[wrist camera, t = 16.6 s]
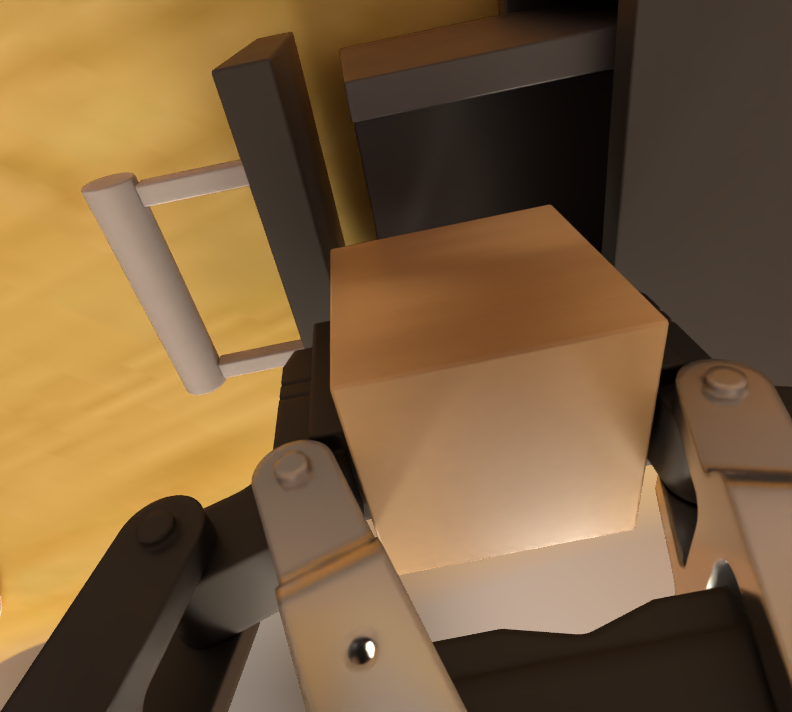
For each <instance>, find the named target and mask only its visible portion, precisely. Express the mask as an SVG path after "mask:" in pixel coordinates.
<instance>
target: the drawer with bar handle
mask: <svg viewBox="0 0 792 712" xmlns="http://www.w3.org/2000/svg"><path fill="white" fill-rule="evenodd" d="M618 3H619V0H569V1H564V2H559V3H555V4H550V5H545V6H540V7H536V8H531V9H526V10H521V11H517V12H512V13H507V14H502V15H498V16H493V17H488V18H483V19H479V20H474V21H469V22H464V23H460V24H455V25H450V26H445V27H441V28H436V29H431V30H426V31H422V32H417V33H412V34H407V35H403V36H398V37H393V38H388V39H384V40H379V41H374V42H369V43H365V44H360V45H355V46H350V47H345V48H341V49H339V55H340V61H341V68H342V74H343V80H344V86H345V91H346V96H347V101H348V106H349V111H350V115H351V120H352V122H353V123H354V128H355V133H356V138H357V143H358V147H359V152H360V157H361V162H362V167H363V172H364V177H365V182H366V186H367V191H368V196H369V201H370V206H371V211H372V216H373V221H374V226H375V230H376V235H377V240H379V239H384V238H389V237H394V236H399V235H404V234H409V233H413V232H418V231H423V230H428V229H433V228H438V227H443V226H448V225H452V224H457V223H462V222H467V221H472V220H477V219H482V218H487V217H491V216H496V215H501V214H506V213H511V212H516V211H521V210H526V209H530V208H535V207H540V206H545V205H552V206H553V207H554V208H555V209H556V210H557V211H558V212H559V213H560V214H561V215H562V216H563V217H564V218H565V219H566V220H567V221H568V222H569V223H570V224H571V225H572V226H573V227H574V228H575V229H576V230H577V231H578V232H579V233H580V234H581V235H582V236H583V237H584V238H585V239H586V240H587V241H588V242H589V243H590V244H591V245H592V246H593V247H594V248H595V249H596V250H597V251H598V252H599V253H600V254H601V255H602V241H603V226H604V211H605V196H606V181H607V166H608V151H609V137H610V122H611V107H612V92H613V77H614V62H615V47H616V32H617V18H618ZM212 76H213V79H214V82H215V85H216V88H217V91H218V94H219V97H220V99H221V102H222V105H223V108H224V111H225V114H226V117H227V120H228V123H229V126H230V129H231V132H232V135H233V138H234V141H235V144H236V147H237V150H238V153H239V156H240V160H235V161H231V162H226V163H221V164H216V165H211V166H207V167H202V168H197V169H192V170H187V171H182V172H178V173H173V174H168V175H163V176H158V177H154V178H149V179H144V180H141V181H140V182H138V180H137V178H136V176H135V175H134V174H133V173H118V174H113V175H109V176H106V177H102V178H99V179H97V180H94V181H92V182H90V183H88V184H86V185H85V186H83V187H82V188H81V192H82V194H83V196H84V198H85V199H86V201H87V203H88V205H89V207H90V209H91V211H92V213H93V214H94V216H95V218H96V220H97V222H98V224H99V226H100V228H101V230H102V231H103V233H104V235H105V237H106V239H107V241H108V243H109V245H110V246H111V248H112V250H113V252H114V254H115V256H116V258H117V260H118V262H119V263H120V265H121V267H122V269H123V271H124V273H125V275H126V277H127V278H128V280H129V282H130V284H131V286H132V288H133V290H134V292H135V294H136V295H137V297H138V299H139V301H140V303H141V305H142V307H143V309H144V310H145V312H146V314H147V316H148V318H149V320H150V322H151V324H152V326H153V327H154V329H155V331H156V333H157V335H158V337H159V339H160V341H161V342H162V344H163V346H164V348H165V350H166V352H167V354H168V356H169V358H170V359H171V361H172V363H173V365H174V367H175V369H176V371H177V373H178V374H179V376H180V378H181V380H182V382H183V384H184V386H185V388H186V390H187V391H188V392H189V393H190V394H193V395H203V394H207V393H210V392H212V391H214V390H216V389H218V388H219V387H220V386H221V385H222V384H223V383H224V382H225V380H226V378H228V377H233V376H238V375H243V374H248V373H253V372H258V371H263V370H268V369H273V368H278V367H283V366H284V365H285V364H286V362H287V361H288V360H289V358H290V357H291V355H292V354H293V352H294V351H296V350H301V349H306V348H311V347H312V343H313V325H314V324H316V323H320V322H325V321H330V252H331V250H332V249H335V248H340V247H345V242H344V238H343V234H342V230H341V226H340V222H339V218H338V214H337V210H336V206H335V202H334V198H333V194H332V189H331V185H330V181H329V177H328V173H327V169H326V165H325V161H324V157H323V153H322V149H321V145H320V141H319V136H318V132H317V128H316V124H315V120H314V116H313V112H312V108H311V104H310V100H309V96H308V92H307V87H306V83H305V79H304V75H303V71H302V67H301V63H300V59H299V55H298V51H297V47H296V43H295V39H294V34H293V33H292V32H287V33H282V34H277V35H273V36H268V37H263V38H258V39H256V40H255V41H254V42H252V43H251V44H249V45H248V46H247V47H245V48H244V49H242V50H241V51H239V52H238V53H237V54H235V55H234V56H232V57H231V58H229V59H228V60H227V61H225V62H224V63H222V64H221V65H220V66H218V67H217V68H215V69H214V70H213V71H212ZM245 186H250V188H251V191H252V194H253V197H254V200H255V203H256V206H257V209H258V212H259V215H260V218H261V221H262V224H263V227H264V230H265V233H266V236H267V239H268V242H269V245H270V248H271V251H272V254H273V257H274V260H275V263H276V266H277V269H278V272H279V275H280V277H281V280H282V283H283V286H284V289H285V292H286V295H287V298H288V301H289V304H290V307H291V310H292V313H293V316H294V319H295V322H296V325H297V328H298V331H299V334H300V337H301V339H300V340H295V341H290V342H285V343H281V344H276V345H271V346H266V347H261V348H256V349H251V350H246V351H241V352H236V353H231V354H226V355H222V356H221V357H220V358H219V356H218V354H217V351H216V349H215V347H214V345H213V343H212V341H211V338H210V336H209V334H208V332H207V330H206V328H205V325H204V323H203V321H202V319H201V317H200V315H199V312H198V310H197V308H196V306H195V304H194V301H193V299H192V297H191V295H190V293H189V291H188V288H187V286H186V284H185V282H184V280H183V278H182V275H181V273H180V271H179V269H178V267H177V265H176V262H175V260H174V258H173V256H172V254H171V252H170V249H169V247H168V245H167V243H166V241H165V239H164V236H163V234H162V232H161V230H160V228H159V226H158V223H157V221H156V219H155V217H154V215H153V213H152V210H151V208H150V206H154V205H158V204H163V203H168V202H173V201H178V200H182V199H187V198H192V197H197V196H202V195H207V194H211V193H216V192H221V191H226V190H231V189H236V188H240V187H245Z"/></svg>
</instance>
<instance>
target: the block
mask: <svg viewBox="0 0 792 712" xmlns="http://www.w3.org/2000/svg"><path fill="white" fill-rule="evenodd" d="M668 325H669V324H668V320H667V319H666V318H665V317H664V316H663V315H662V314H661V313H660V312H659V311H658V310H657V309H656V308H655V307H654V306H653V305H652V304H651V303H650V302H649V301H648V300H647V299H646V298H645V297H644V296H643V295H642V294H641V293H640V292H639V291H638V290H637V289H636V288H635V287H634V286H633V285H632V284H631V283H630V282H629V281H628V280H627V279H626V278H625V277H624V276H623V275H622V274H621V273H620V272H619V271H618V270H617V269H616V268H615V267H614V266H613V265H612V264H611V263H609V262H608V261H607V260H606V259H605V258H604V257H603V256H602V255H601V254H600V253H599V252H598V251H597V250H596V249H595V248H594V247H593V246H592V245H591V244H590V243H589V242H588V241H587V240H586V239H585V238H584V237H583V236H582V235H581V234H580V233H579V232H578V231H577V230H576V229H575V228H574V227H573V226H572V225H571V224H570V223H569V222H568V221H567V220H566V219H565V218H564V217H563V216H562V215H561V214H560V213H559V212H558V211H557V210H556V209H555V208H554V207H553V206H552V205H545V206H540V207H535V208H530V209H526V210H521V211H516V212H511V213H506V214H501V215H496V216H491V217H487V218H482V219H477V220H472V221H467V222H462V223H457V224H452V225H448V226H443V227H438V228H433V229H428V230H423V231H418V232H413V233H409V234H404V235H399V236H394V237H389V238H384V239H379V240H374V241H370V242H365V243H360V244H355V245H350V246H345V247H340V248H335V249H332V250H331V252H330V392H331V395H332V398H333V401H334V404H335V407H336V410H337V413H338V416H339V420H340V423H341V426H342V429H343V432H344V435H345V438H346V441H347V444H348V447H349V451H350V454H351V457H352V460H353V463H354V466H355V469H356V472H357V475H358V478H359V482H360V485H361V488H362V491H363V494H364V497H365V500H366V503H367V506H368V509H369V513H370V516H371V519H372V522H373V525H374V528H375V531H376V534H377V537H378V538H379V540H380V541H381V543H382V545H383V546H384V548H385V550H386V552H387V554H388V556H389V558H390V560H391V562H392V564H393V566H394V568H395V570H396V572H397V574H398V575H402V574H407V573H412V572H417V571H423V570H428V569H433V568H438V567H443V566H448V565H453V564H459V563H464V562H469V561H474V560H479V559H485V558H490V557H495V556H500V555H505V554H510V553H515V552H520V551H526V550H531V549H536V548H542V547H546V546H552V545H557V544H562V543H567V542H572V541H578V540H583V539H588V538H593V537H598V536H604V535H609V534H614V533H619V532H624V531H630V530H634V529H635V528H636V522H637V515H638V509H639V504H640V497H641V491H642V485H643V479H644V472H645V467H646V461H647V454H648V448H649V442H650V436H651V430H652V424H653V417H654V411H655V405H656V399H657V393H658V387H659V381H660V374H661V368H662V362H663V356H664V350H665V344H666V337H667V331H668Z"/></svg>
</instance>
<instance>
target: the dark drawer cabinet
mask: <svg viewBox="0 0 792 712" xmlns="http://www.w3.org/2000/svg"><path fill="white" fill-rule="evenodd" d="M564 1H569V0H499V15H502V14H507V13H512V12H517V11H521V10H526V9H531V8H536V7H540V6H545V5H550V4H555V3H559V2H564ZM602 256H603V257H604V258H605V259H606V260H607V261H608V262H609V263H611V264H612V265H613V266H614V267H615V268H616V269H617V270H618V271H619V272H620V273H621V274H622V275H623V276H624V277H625V278H626V279H627V280H628V281H629V282H630V283H631V284H632V285H633V286H634V287H635V288H636V289H637V290H638V291H640V292H642V293H644V294H646V295H647V296H648V297H649V298H650V299H652V300H653V301H654V302H655V303H656V304H657V305H658V306H659V307H660V311H664V312H665V313H666V314H667V315H668V316H669V317H670V318H671V319H672V322H675V323H676V324H677V325H678V326H679V327H680V328H681V329H682V330H683V331H684V332H685V333H686V334H687V335H689V336H690V337H691V338H692V339H693V340H694V341H695V342H696V343H697V344H698V345H699V346H700V347H701V348H702V349H703V350H704V351H705V352H706V353H707V354H708V355H709V356H710V357H711V358H712V359H724V360H731V361H735V362H739V363H742V364H745V365H748V366H750V367H752V368H754V369H756V370H758V371H760V372H761V373H763V374H764V375H765V376H766V377H767V378H768V379H769V380H770V381H771V382H772V383H773V385H774V386H788V387H792V0H619V3H618V18H617V32H616V47H615V62H614V77H613V92H612V107H611V122H610V137H609V151H608V166H607V181H606V196H605V211H604V226H603V241H602Z"/></svg>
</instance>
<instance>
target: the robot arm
mask: <svg viewBox="0 0 792 712" xmlns="http://www.w3.org/2000/svg"><path fill="white" fill-rule="evenodd" d="M639 292H640V291H639ZM640 293H641V294H642V295H643V296H644V297H645V298H646V299H647V300H648V301H649V302H650V303H651V304H652V305H653V306H654V307H655V308H656V309H657V310H658V311H659V312H660V313H661V314H662V315H663V316H664V317H665V318H666V319H667V320H668V324H669V325H668V331H667V337H666V344H665V350H664V356H663V362H662V368H661V374H660V381H659V387H658V393H657V399H656V405H655V411H654V417H653V424H652V430H651V436H650V442H649V448H648V454H647V461H646V465H652V466H653V467H654V469H655V470H656V472H657V473H658V477H657V482H656V488H655V489H656V496H657V500H658V505H659V510H660V514H661V519H662V524H663V529H664V534H665V538H666V543H667V548H668V553H669V557H670V562H671V567H672V572H673V576H674V583H675V596H670V597H664V598H660V599H654V600H652V601H650V602H648V603H646V604H644V605H642V606H640V607H638V608H636V609H635V610H632V611H631V612H629V613H627V614H625V615H623V616H622V617H619V618H617V619H615V620H613V621H611V622H610V623H608V624H606V625H604V626H602V627H600V628H598V629H596V630H594V631H592V632H590V633H587V634H563V633H549V632H537V631H523V630H510V629H509V630H508V629H498V630H493V631H488V632H483V633H477V634H472V635H467V636H462V637H457V638H451V639H446V640H441V641H436V642H432V641H431V639H430V637H429V635H428V633H427V631H426V629H425V627H424V625H423V623H422V621H421V619H420V617H419V615H418V614H417V611H416V610H415V607H414V605H413V603H412V601H411V600H410V598H409V595H408V594H407V591H406V589H405V588H404V586H403V584H402V582H401V580H400V578H399V576H398V574H397V572H396V570H395V568H394V566H393V564H392V562H391V560H390V558H389V556H388V554H387V552H386V550H385V548H384V546H383V545H382V543H381V541H380V540H379V538H378V537H376V538H375V537H374V535H373V533H372V531H371V529H370V527H369V525H368V523H367V521H366V520H368V519H371V516H370V513H369V509H368V506H367V503H366V500H365V497H364V494H363V491H362V488H361V485H360V482H359V478H358V475H357V472H356V469H355V466H354V463H353V460H352V457H351V454H350V451H349V447H348V444H347V441H346V438H345V435H344V432H343V429H342V426H341V423H340V420H339V416H338V413H337V410H336V407H335V404H334V401H333V398H332V395H331V392H330V321H325V322H320V323H316V324H314V325H313V343H312V347H311V348H306V349H301V350H296V351H294V352H293V354H292V355H291V357H290V358H289V360H288V361H287V362H286V364H285V365H284V367H283V374H282V382H281V384H282V387H281V390H280V401H279V406H278V414H277V422H276V431H275V439H274V447H273V451H271V452H270V453H269V454H267V455H266V456H265V457H264V458H263V459H262V460H261V461H260V463H259V464H258V465H257V467H256V469H255V471H254V473H253V476H252V484H251V485H249V486H248V487H246V488H245V489H243V490H242V491H240V492H238V493H236V494H234V495H232V496H230V497H228V498H226V499H223V500H221V501H219V502H217V503H215V504H213V505H211V506H208V507H206V508H204V509H203V507H202V506H201V504H200V503H199V502H198V501H197V500H196V499H194V498H192V497H189V496H183V495H176V496H170V497H165V498H162V499H159V500H157V501H155V502H153V503H151V504H149V505H147V506H146V507H144V508H143V509H141V510H140V511H138V512H137V513H136V514H135V515H134V516H133V517H131V518H130V519H129V521H128V522H127V523H126V524H125V525H124V526H123V528H122V529H121V530H120V532H119V533H118V535H117V536H116V538H115V539H114V541H113V542H112V544H111V545H110V547H109V548H108V550H107V551H106V553H105V555H104V556H103V558H102V559H101V561H100V562H99V564H98V565H97V567H96V568H95V570H94V571H93V573H92V574H91V576H90V577H89V579H88V580H87V582H86V583H85V585H84V586H83V588H82V589H81V591H80V592H79V594H78V595H77V597H76V598H75V600H74V601H73V603H72V604H71V606H70V607H69V609H68V610H67V612H66V613H65V615H64V616H63V618H62V619H61V621H60V623H59V624H58V626H57V627H56V629H55V630H54V632H53V633H52V635H51V636H50V638H49V639H48V641H47V642H46V644H45V645H44V647H43V648H42V650H41V651H40V653H39V654H38V656H37V657H36V659H35V660H34V662H33V663H32V665H31V666H30V668H29V669H28V671H27V672H26V674H25V675H24V677H23V678H22V680H21V682H20V683H19V684H18V686H17V687H16V689H15V691H14V692H13V694H12V695H11V697H10V698H9V700H8V701H7V703H6V704H5V706H4V707H3V709H2V710H1V712H228V710H229V707H230V704H231V702H232V699H233V696H234V693H235V691H236V688H237V685H238V682H239V680H240V677H241V674H242V671H243V669H244V666H245V663H246V660H247V658H248V655H249V652H250V649H251V647H252V644H253V641H254V638H255V635H256V633H257V630H258V627H259V624H260V621H262V620H263V619H265V618H267V617H269V616H271V615H273V614H274V613H276V612H278V611H279V612H280V616H281V619H282V623H283V627H284V631H285V634H286V638H287V642H288V646H289V649H290V653H291V657H292V660H293V664H294V668H295V671H296V675H297V679H298V682H299V686H300V690H301V694H302V697H303V701H304V704H305V708H306V712H792V387H788V386H774V385H773V383H772V382H771V381H770V380H769V379H768V378H767V377H766V376H765V375H764V374H763V373H761V372H760V371H758V370H756V369H754V368H752V367H750V366H748V365H745V364H742V363H739V362H735V361H731V360H724V359H712V358H711V357H710V356H709V355H708V354H707V353H706V352H705V351H704V350H703V349H702V348H701V347H700V346H699V345H698V344H697V343H696V342H695V341H694V340H693V339H692V338H691V337H690V336H689V335H687V334H686V333H685V332H684V331H683V330H682V329H681V328H680V327H679V326H678V325H677V324H676V323H675V322H672V319H671V318H670V317H669V316H668V315H667V314H666V313H665V312H664V311H660V307H659V306H658V305H657V304H656V303H655V302H654V301H653V300H652V299H650V298H649V297H648V296H647V295H646V294H644V293H642V292H640Z"/></svg>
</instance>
